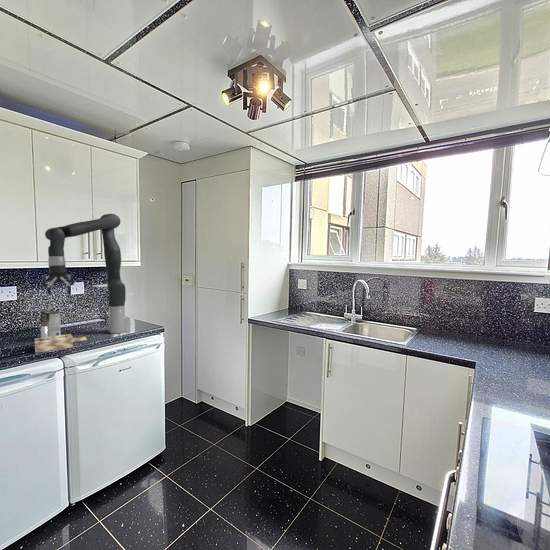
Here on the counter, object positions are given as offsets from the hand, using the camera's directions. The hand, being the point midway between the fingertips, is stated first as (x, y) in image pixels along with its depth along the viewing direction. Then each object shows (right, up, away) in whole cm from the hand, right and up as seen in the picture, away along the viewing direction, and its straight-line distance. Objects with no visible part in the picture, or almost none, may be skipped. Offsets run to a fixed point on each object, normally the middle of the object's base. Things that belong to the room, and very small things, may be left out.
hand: (59, 293), depth 167 cm
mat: (+5, -28, +9) cm, 29 cm away
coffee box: (-12, -27, +10) cm, 31 cm away
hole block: (+2, -29, -6) cm, 29 cm away
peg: (-1, -29, -8) cm, 30 cm away
